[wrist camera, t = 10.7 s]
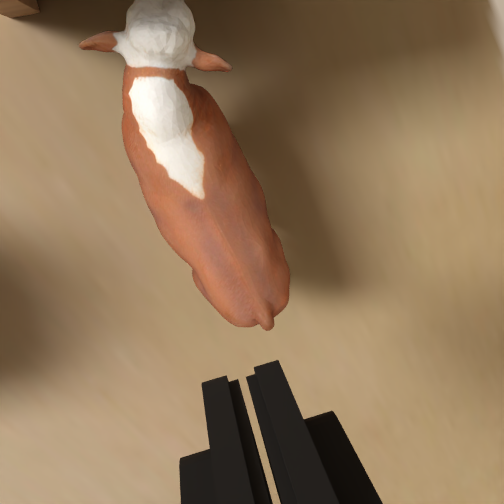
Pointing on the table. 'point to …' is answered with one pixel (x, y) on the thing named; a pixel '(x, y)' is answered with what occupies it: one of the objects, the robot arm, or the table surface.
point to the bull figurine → (195, 165)
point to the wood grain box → (18, 7)
